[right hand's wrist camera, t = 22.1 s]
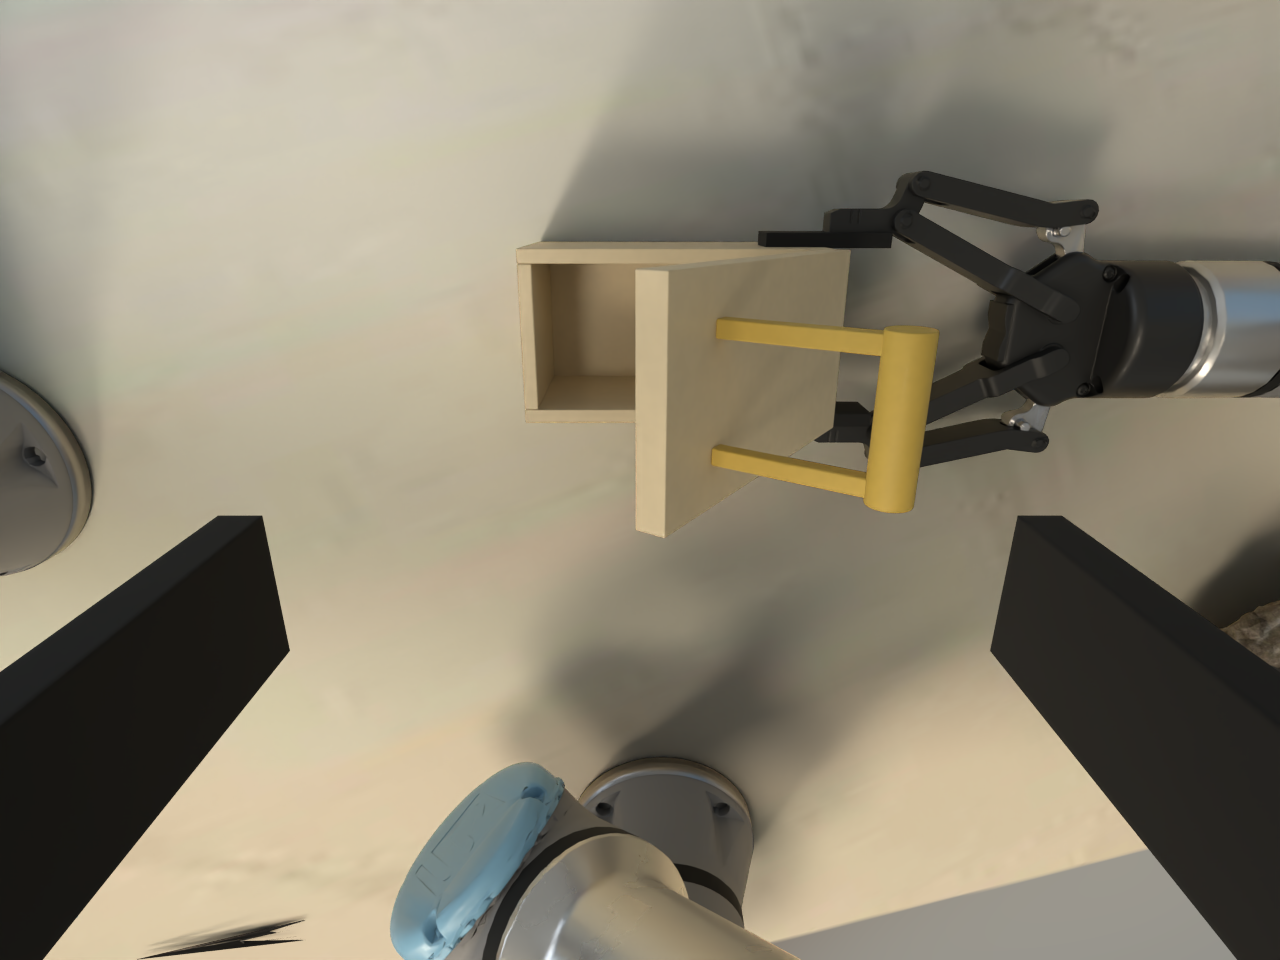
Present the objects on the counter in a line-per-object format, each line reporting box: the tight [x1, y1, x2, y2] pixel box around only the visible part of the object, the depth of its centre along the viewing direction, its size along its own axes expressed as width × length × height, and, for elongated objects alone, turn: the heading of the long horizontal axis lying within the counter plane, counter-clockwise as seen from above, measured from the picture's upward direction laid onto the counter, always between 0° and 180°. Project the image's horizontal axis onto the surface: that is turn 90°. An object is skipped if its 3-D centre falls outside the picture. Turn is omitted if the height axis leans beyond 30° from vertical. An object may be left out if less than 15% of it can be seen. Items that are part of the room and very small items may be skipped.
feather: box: [137, 920, 304, 960], centre depth 65 cm, size 2×28×2 cm
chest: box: [516, 242, 832, 423], centre depth 41 cm, size 16×9×9 cm, turn 90°
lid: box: [635, 249, 940, 538], centre depth 28 cm, size 17×9×8 cm
